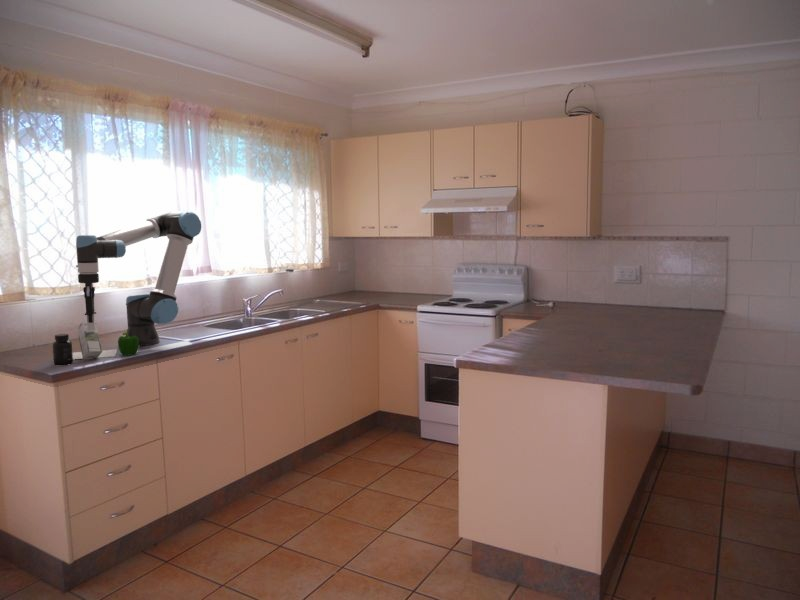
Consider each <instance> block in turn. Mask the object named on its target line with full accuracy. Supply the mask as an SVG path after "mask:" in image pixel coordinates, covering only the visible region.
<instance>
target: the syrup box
mask: <svg viewBox="0 0 800 600" xmlns="http://www.w3.org/2000/svg"><path fill="white" fill-rule="evenodd" d="M76 331H77V335H78V341H79V345H80V346H79V347H80V352H82V357H83V360H90V359H89V358H96V359H99V358H98V357H99V355H100V354H101V353H102V344H101V340H100V335H99V330H98V326H97V322H95V330H90V331H88V330H87V322H84V321H82V322H81V323H79V325H78V327H77V328H76Z"/></svg>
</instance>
